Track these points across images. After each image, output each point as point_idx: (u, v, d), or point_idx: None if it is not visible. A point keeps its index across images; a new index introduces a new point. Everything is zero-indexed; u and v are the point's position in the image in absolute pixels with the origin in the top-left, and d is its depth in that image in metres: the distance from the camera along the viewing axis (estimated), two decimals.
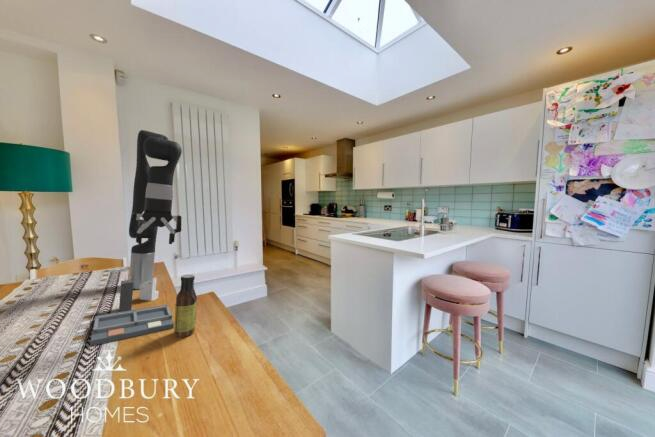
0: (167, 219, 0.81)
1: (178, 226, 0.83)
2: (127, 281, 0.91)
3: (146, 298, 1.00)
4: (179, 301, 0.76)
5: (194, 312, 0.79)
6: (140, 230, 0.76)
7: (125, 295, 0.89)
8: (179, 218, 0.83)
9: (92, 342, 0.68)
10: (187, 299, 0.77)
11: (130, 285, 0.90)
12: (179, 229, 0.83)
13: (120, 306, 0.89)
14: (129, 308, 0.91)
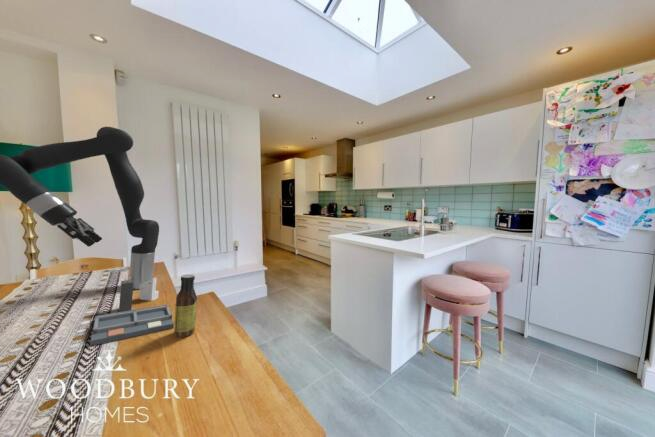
0: None
1: None
2: (127, 281, 0.91)
3: (146, 298, 1.00)
4: (179, 301, 0.76)
5: (194, 312, 0.79)
6: None
7: (125, 295, 0.89)
8: None
9: (92, 342, 0.68)
10: (187, 299, 0.77)
11: (130, 285, 0.90)
12: None
13: (120, 306, 0.89)
14: (129, 308, 0.91)
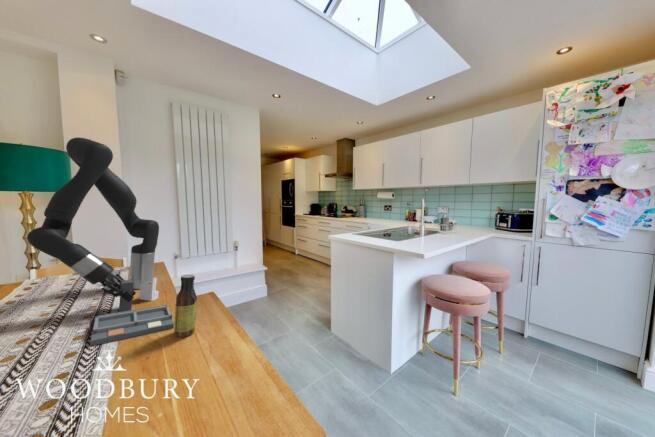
0: None
1: None
2: (127, 281, 0.91)
3: (146, 298, 1.00)
4: (179, 301, 0.76)
5: (194, 312, 0.79)
6: None
7: None
8: None
9: (92, 342, 0.68)
10: (187, 299, 0.77)
11: (130, 285, 0.90)
12: None
13: (120, 306, 0.89)
14: (129, 308, 0.90)
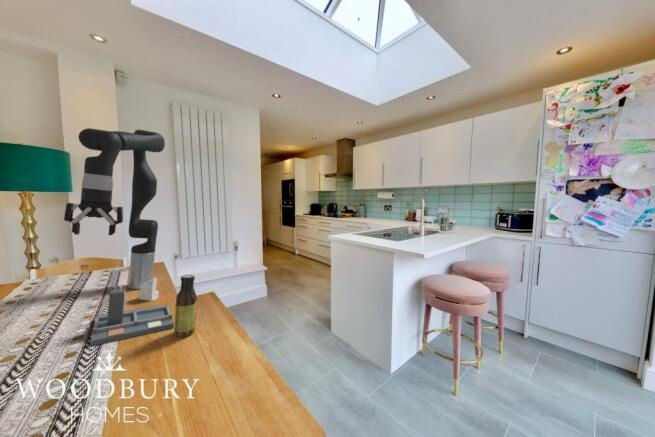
0: (105, 210, 0.81)
1: (118, 217, 0.82)
2: (118, 290, 0.78)
3: (146, 298, 1.00)
4: (179, 301, 0.76)
5: (194, 312, 0.79)
6: (75, 220, 0.77)
7: (114, 307, 0.76)
8: (119, 209, 0.82)
9: (92, 342, 0.68)
10: (187, 299, 0.77)
11: (120, 295, 0.77)
12: (119, 220, 0.83)
13: (108, 320, 0.76)
14: (119, 322, 0.77)
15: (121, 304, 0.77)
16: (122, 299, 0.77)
